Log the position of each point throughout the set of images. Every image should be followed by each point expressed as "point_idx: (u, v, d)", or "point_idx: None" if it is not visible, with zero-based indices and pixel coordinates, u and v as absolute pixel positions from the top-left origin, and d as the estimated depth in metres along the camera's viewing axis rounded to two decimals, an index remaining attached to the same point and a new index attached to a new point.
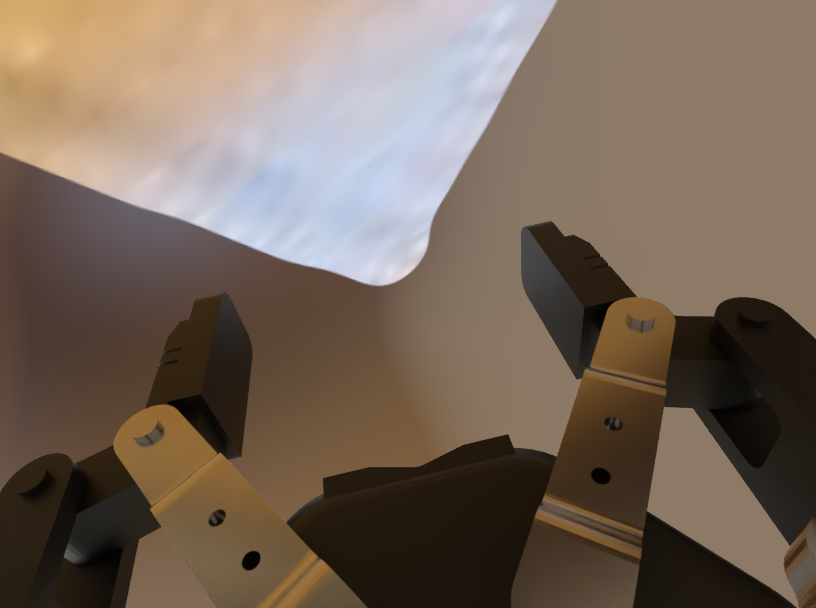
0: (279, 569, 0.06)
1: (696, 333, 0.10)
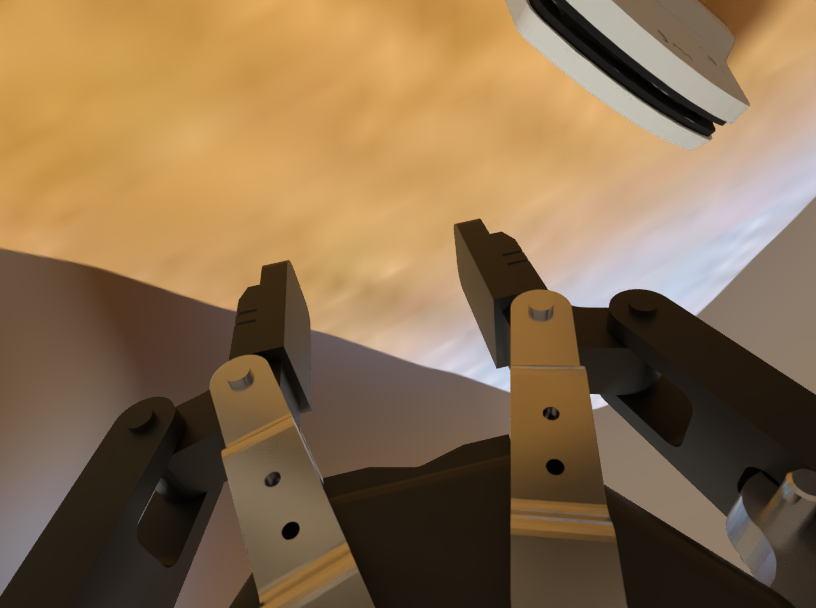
0: (312, 548, 0.06)
1: (594, 323, 0.10)
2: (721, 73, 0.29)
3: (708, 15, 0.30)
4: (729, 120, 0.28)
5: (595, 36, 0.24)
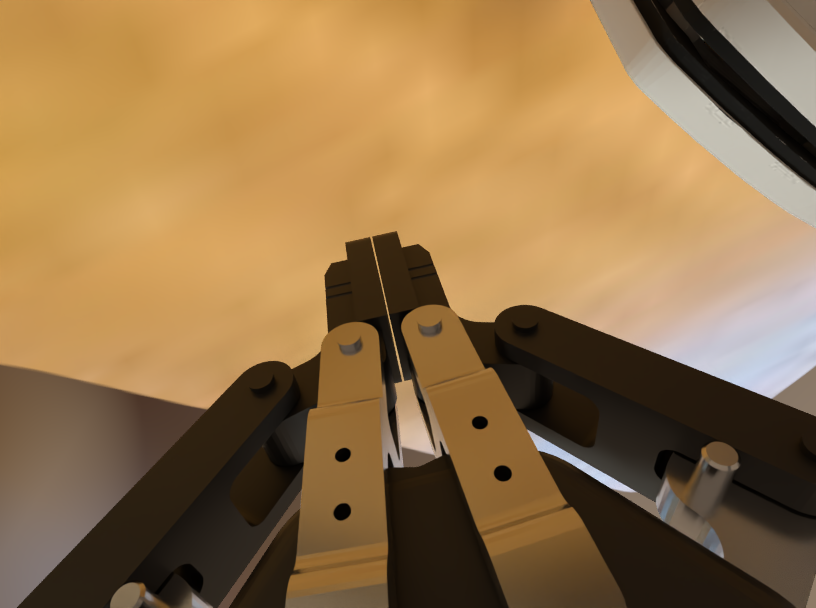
0: (355, 537, 0.06)
1: (485, 338, 0.10)
2: None
3: None
4: None
5: (760, 92, 0.15)
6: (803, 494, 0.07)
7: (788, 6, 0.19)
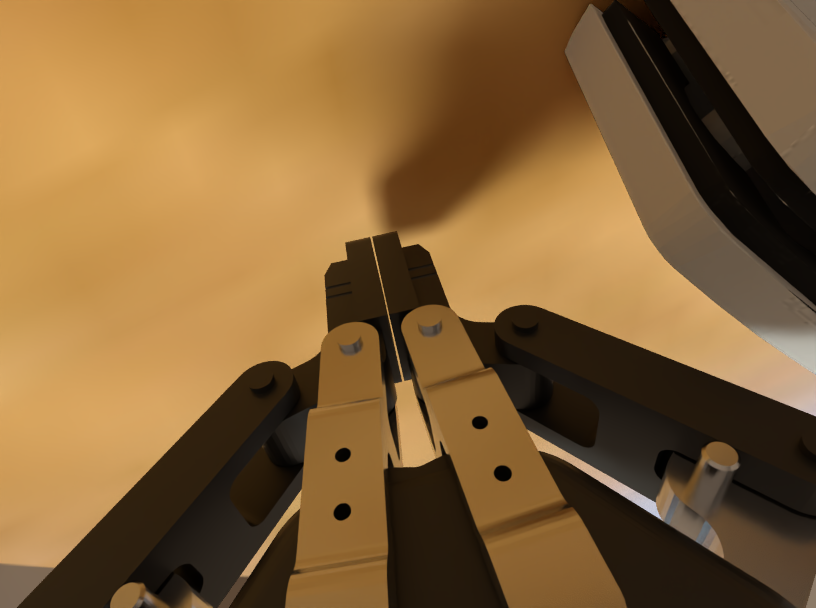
0: (355, 537, 0.06)
1: (485, 338, 0.10)
2: None
3: None
4: None
5: None
6: (803, 494, 0.07)
7: None
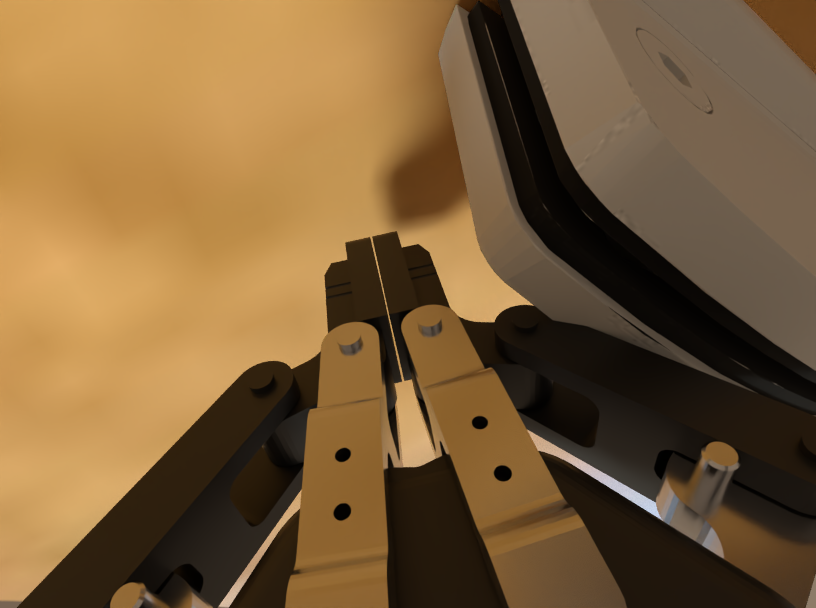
0: (355, 537, 0.06)
1: (485, 338, 0.10)
2: None
3: None
4: None
5: (699, 303, 0.09)
6: (803, 494, 0.07)
7: (759, 108, 0.12)
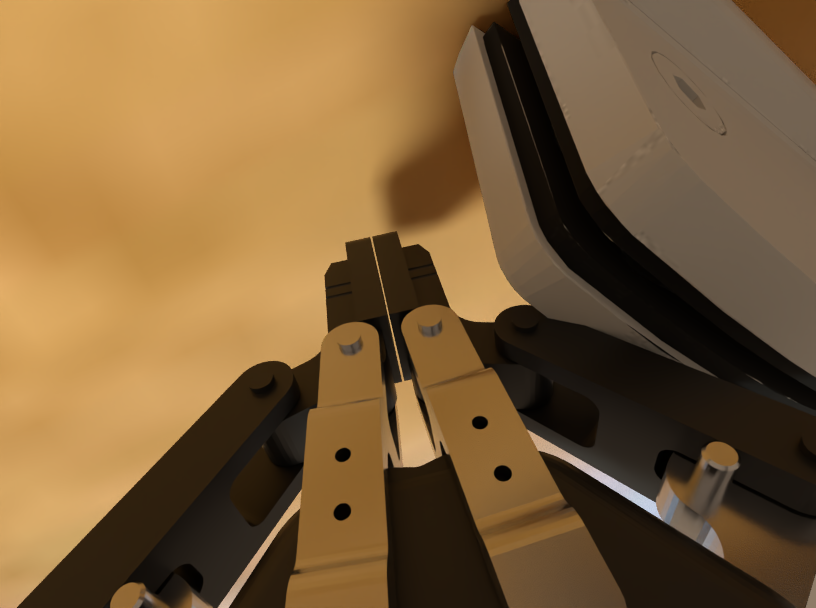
0: (355, 538, 0.06)
1: (485, 338, 0.10)
2: None
3: None
4: None
5: (715, 321, 0.09)
6: (803, 494, 0.07)
7: (768, 125, 0.13)
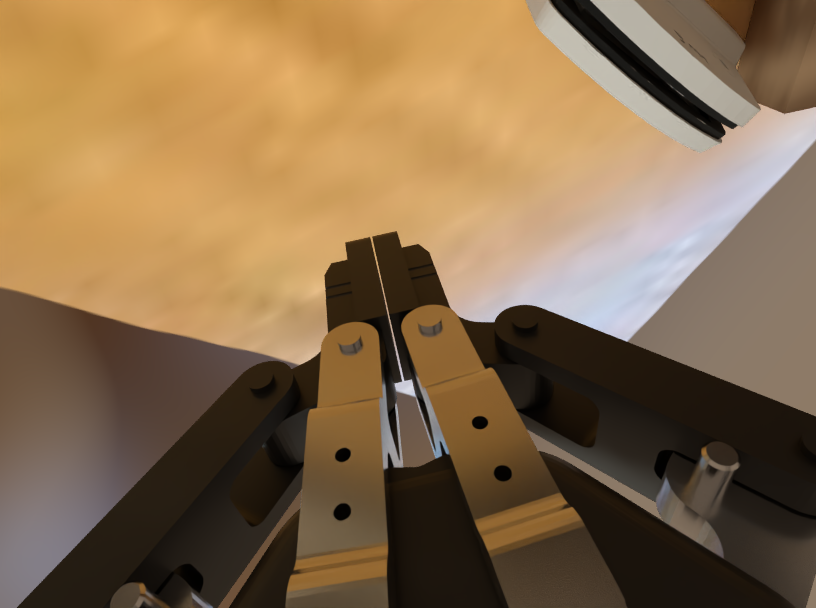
0: (355, 538, 0.06)
1: (485, 338, 0.10)
2: (733, 77, 0.29)
3: (720, 20, 0.31)
4: (740, 123, 0.29)
5: (614, 34, 0.24)
6: (803, 494, 0.07)
7: None
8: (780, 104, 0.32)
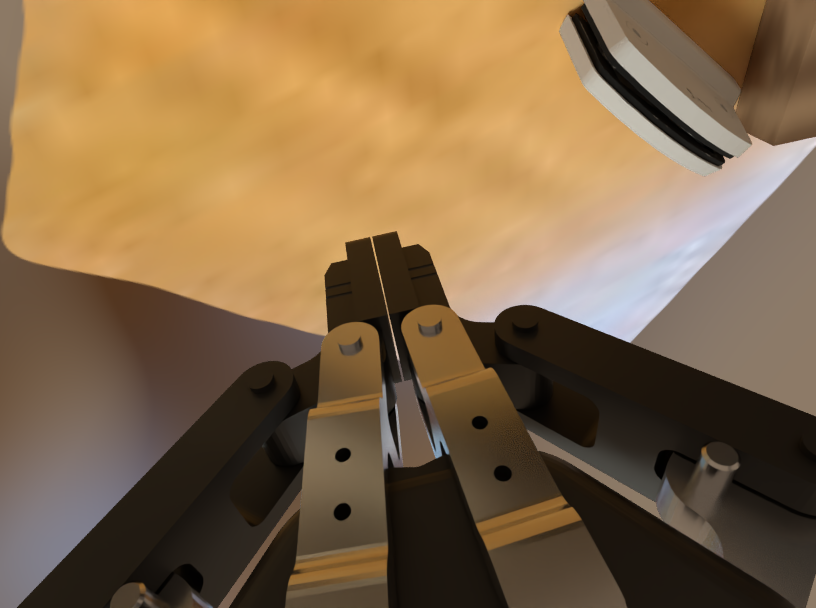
0: (355, 537, 0.06)
1: (485, 338, 0.10)
2: (731, 118, 0.37)
3: (721, 72, 0.39)
4: (736, 155, 0.37)
5: (642, 92, 0.33)
6: (803, 494, 0.07)
7: (668, 50, 0.37)
8: (770, 138, 0.40)
